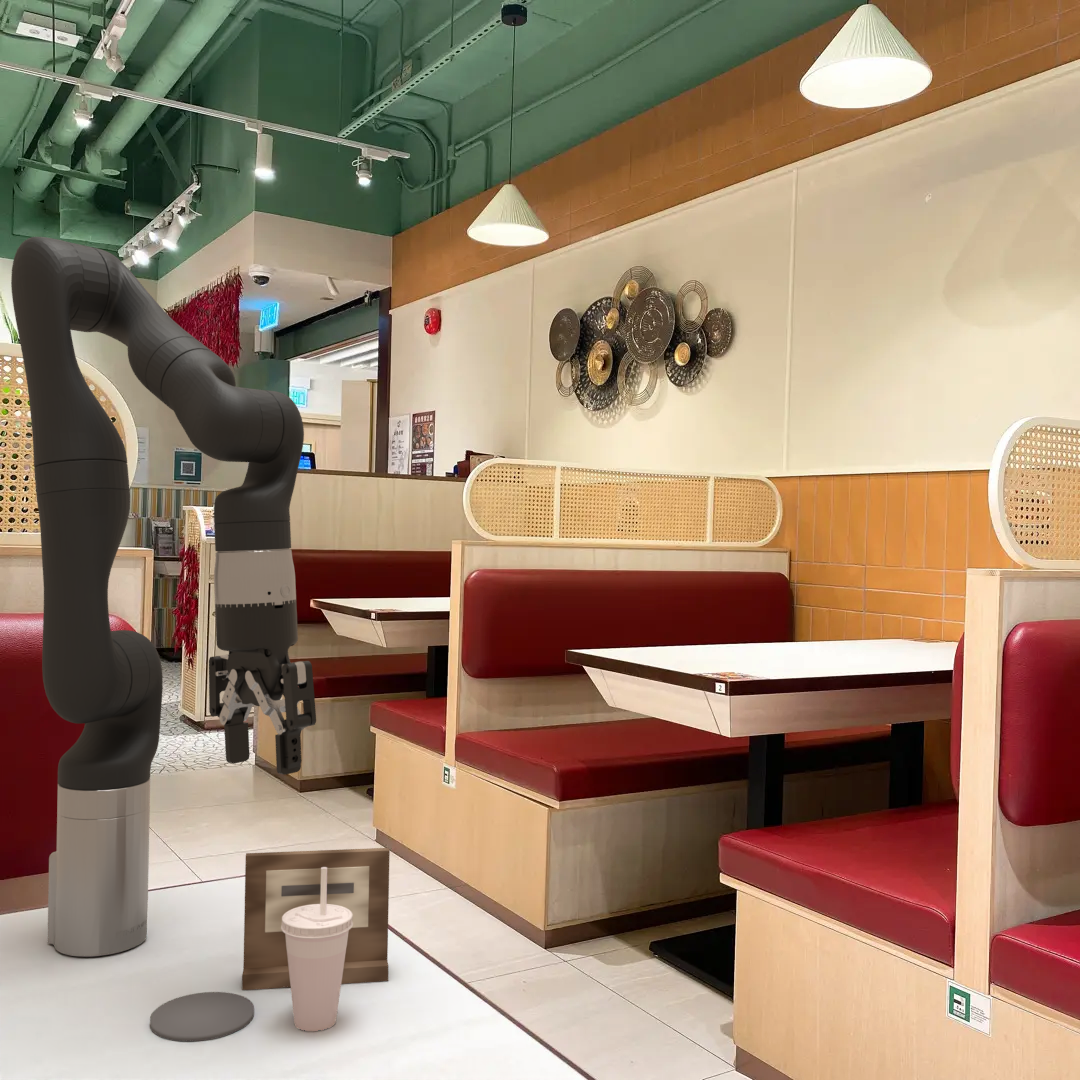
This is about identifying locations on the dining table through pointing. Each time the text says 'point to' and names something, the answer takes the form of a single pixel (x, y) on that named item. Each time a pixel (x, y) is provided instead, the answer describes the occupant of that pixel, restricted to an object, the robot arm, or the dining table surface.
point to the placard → (296, 883)
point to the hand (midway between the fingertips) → (263, 767)
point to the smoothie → (316, 959)
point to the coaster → (202, 1016)
